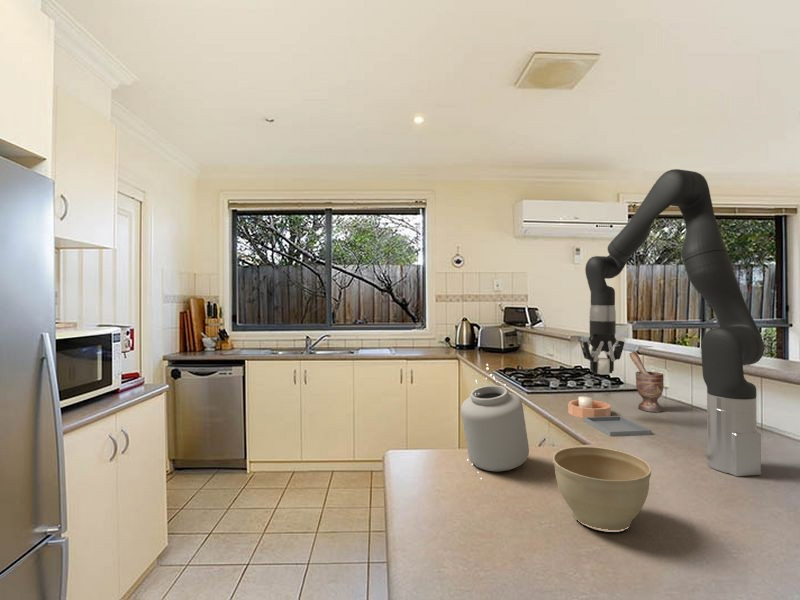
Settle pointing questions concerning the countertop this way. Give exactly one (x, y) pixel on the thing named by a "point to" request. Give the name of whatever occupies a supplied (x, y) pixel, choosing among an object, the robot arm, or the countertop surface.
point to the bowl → (589, 409)
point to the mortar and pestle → (648, 386)
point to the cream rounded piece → (603, 365)
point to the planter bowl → (602, 485)
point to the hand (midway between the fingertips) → (601, 372)
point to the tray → (617, 426)
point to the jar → (495, 428)
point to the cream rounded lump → (585, 402)
